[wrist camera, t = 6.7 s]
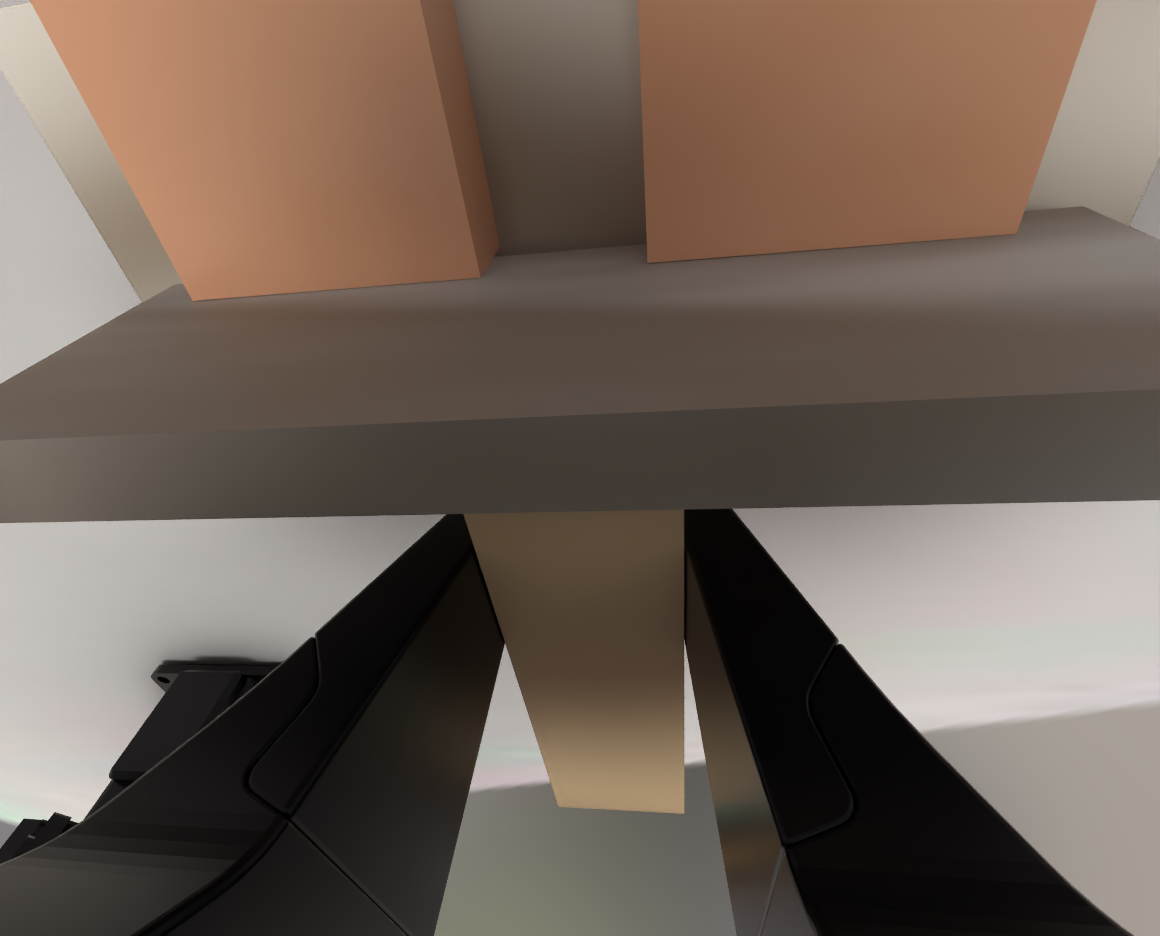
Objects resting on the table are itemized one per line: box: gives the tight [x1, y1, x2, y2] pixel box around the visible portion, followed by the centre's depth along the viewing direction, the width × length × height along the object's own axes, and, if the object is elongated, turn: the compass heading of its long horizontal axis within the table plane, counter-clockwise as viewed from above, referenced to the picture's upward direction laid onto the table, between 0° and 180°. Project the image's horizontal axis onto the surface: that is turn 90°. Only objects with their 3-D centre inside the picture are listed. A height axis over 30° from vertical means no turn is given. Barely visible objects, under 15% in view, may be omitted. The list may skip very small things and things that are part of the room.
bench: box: [0, 0, 1160, 303], centre depth 11 cm, size 11×14×4 cm
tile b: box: [30, 0, 500, 301], centre depth 7 cm, size 4×4×1 cm
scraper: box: [0, 206, 1160, 813], centre depth 9 cm, size 10×12×4 cm
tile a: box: [638, 0, 1097, 263], centre depth 6 cm, size 4×4×1 cm
